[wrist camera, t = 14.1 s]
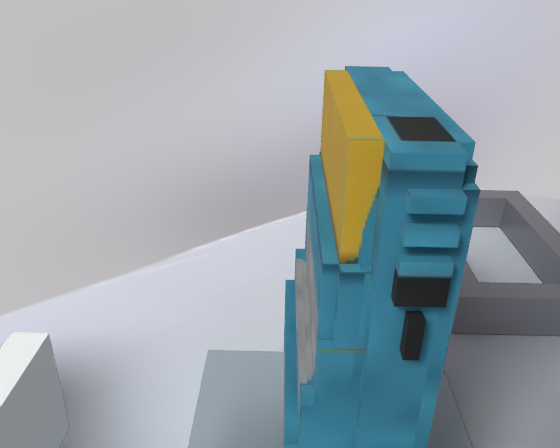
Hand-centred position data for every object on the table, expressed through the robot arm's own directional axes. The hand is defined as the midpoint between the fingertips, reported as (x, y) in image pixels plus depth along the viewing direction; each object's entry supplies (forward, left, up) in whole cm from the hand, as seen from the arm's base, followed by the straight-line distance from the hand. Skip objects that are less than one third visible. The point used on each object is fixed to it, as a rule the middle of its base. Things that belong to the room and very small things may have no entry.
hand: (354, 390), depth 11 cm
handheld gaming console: (-1, -6, -10) cm, 12 cm away
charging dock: (-17, -23, -10) cm, 30 cm away
